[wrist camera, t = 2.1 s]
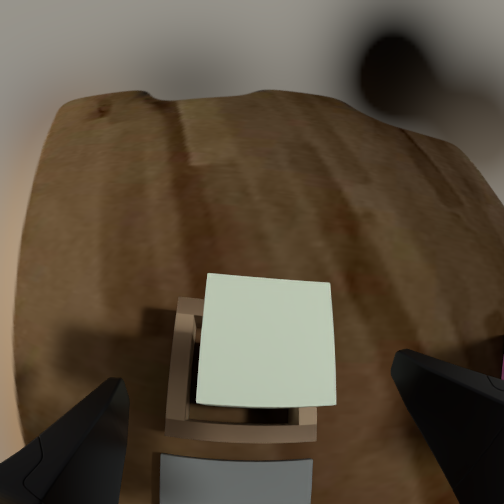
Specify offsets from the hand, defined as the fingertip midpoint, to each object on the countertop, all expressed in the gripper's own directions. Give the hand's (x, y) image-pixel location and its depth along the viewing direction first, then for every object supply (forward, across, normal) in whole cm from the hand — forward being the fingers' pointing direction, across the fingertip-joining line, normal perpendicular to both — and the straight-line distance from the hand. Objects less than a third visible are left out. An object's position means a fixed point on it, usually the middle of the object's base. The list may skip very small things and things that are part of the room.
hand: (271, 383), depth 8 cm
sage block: (+8, 0, +6) cm, 9 cm away
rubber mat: (0, +1, +13) cm, 13 cm away
